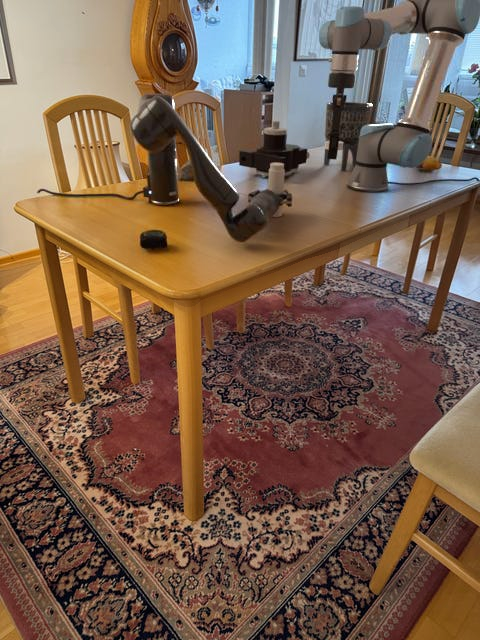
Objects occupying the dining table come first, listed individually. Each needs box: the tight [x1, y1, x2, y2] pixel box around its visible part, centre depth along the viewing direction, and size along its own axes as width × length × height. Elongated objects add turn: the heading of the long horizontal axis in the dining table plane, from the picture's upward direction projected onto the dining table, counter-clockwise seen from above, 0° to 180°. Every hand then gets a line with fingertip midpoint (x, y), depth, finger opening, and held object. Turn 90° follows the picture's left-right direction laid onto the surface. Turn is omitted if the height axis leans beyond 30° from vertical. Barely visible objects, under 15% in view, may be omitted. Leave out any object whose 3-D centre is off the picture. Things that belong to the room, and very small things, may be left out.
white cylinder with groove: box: [324, 140, 343, 151], centre depth 139 cm, size 6×6×2 cm
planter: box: [323, 101, 374, 172], centre depth 204 cm, size 20×20×26 cm
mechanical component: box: [238, 120, 311, 178], centre depth 191 cm, size 22×21×30 cm
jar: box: [267, 163, 285, 218], centre depth 141 cm, size 5×5×16 cm
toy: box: [415, 156, 443, 172], centre depth 207 cm, size 11×6×15 cm
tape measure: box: [139, 229, 168, 250], centre depth 117 cm, size 7×7×4 cm
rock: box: [177, 159, 194, 182], centre depth 183 cm, size 13×9×6 cm, turn 131°
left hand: (277, 192), depth 144 cm, fingers closed on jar, 5 cm apart
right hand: (332, 157), depth 141 cm, fingers closed on white cylinder with groove, 5 cm apart
